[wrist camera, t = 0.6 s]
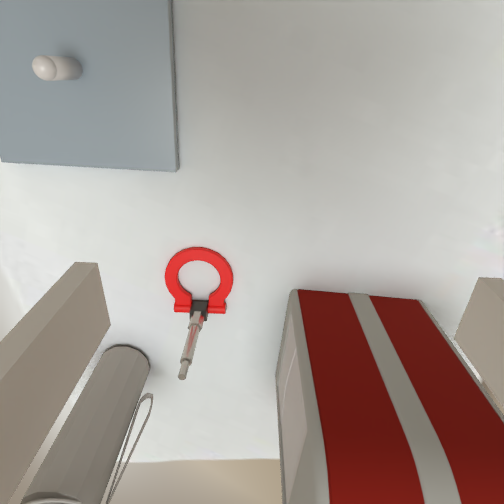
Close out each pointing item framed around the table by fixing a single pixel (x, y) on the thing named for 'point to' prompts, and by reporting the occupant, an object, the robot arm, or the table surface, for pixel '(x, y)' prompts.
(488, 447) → the striped mailbox
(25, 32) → the pin plate
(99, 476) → the water bottle
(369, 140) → the table surface
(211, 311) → the tow hook
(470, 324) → the robot arm
